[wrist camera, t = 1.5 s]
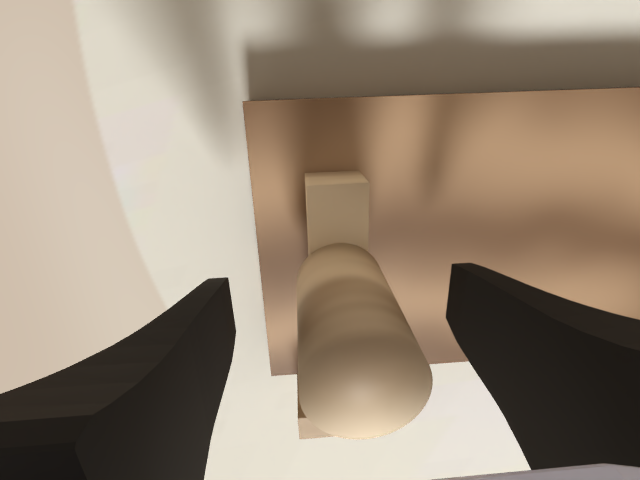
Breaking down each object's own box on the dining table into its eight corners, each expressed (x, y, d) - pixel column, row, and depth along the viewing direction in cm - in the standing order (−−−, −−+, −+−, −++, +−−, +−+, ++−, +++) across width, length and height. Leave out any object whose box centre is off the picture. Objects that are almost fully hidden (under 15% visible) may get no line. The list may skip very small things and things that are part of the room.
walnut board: (639, 322, 20) (677, 346, 18) (273, 348, 19) (271, 377, 17) (724, 84, 15) (787, 82, 13) (249, 100, 14) (242, 101, 12)
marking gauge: (367, 374, 19) (421, 577, 11) (298, 379, 19) (302, 589, 11) (371, 162, 15) (463, 240, 7) (283, 166, 14) (271, 250, 7)
